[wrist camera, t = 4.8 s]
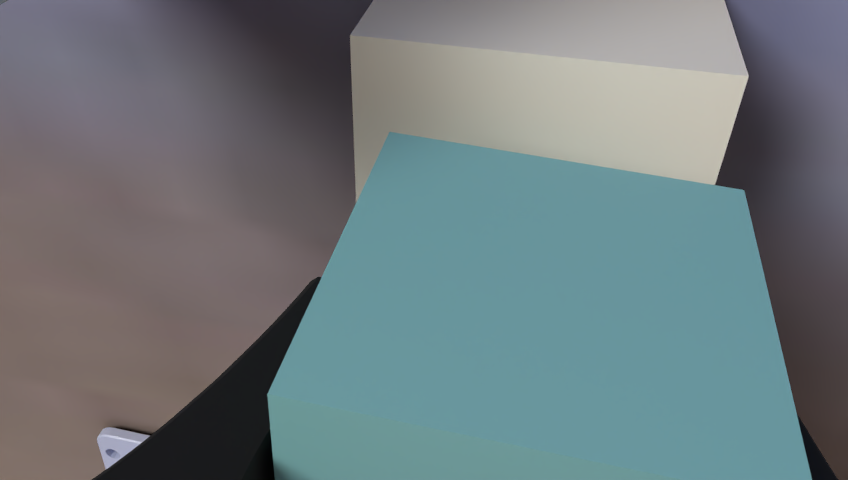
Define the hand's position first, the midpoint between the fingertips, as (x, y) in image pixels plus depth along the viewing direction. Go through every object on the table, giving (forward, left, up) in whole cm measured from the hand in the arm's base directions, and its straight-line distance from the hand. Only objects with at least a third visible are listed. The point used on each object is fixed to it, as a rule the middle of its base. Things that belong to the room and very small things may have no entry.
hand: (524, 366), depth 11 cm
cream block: (0, 0, -7) cm, 7 cm away
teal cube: (0, 0, -2) cm, 2 cm away
